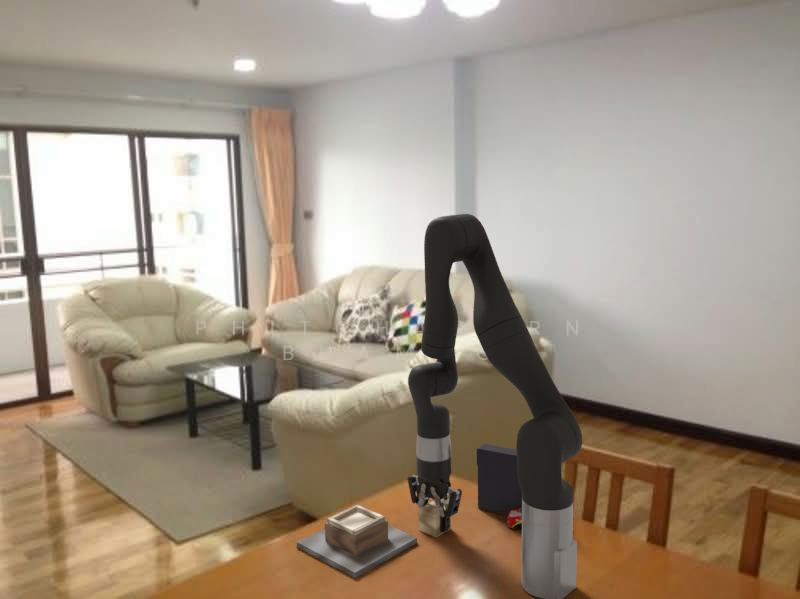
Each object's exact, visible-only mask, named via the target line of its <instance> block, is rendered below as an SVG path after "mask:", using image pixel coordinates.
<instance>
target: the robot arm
mask: <svg viewBox="0 0 800 599" xmlns="http://www.w3.org/2000/svg"><path fill="white" fill-rule="evenodd" d="M423 242H424V244H423V247H424V249H423V253H424V256H423V257H424V259H423V260H424V283H425V285H424V286H425V289H424V291H425V311H424V320H423V328H422V334H421V341H420V342H421V343H420V344H421V345H420V350H421V352H422V353H423V355H425V356H426V357H428V358H430V359H434V360H436V362H432V363H425V364H419V365H415V366H414V367H413V368H412V369H410V371H409V374H408V377H407V384H408V390H409V392H410V395H411V398H412V402H413V405H414V410H415V414H416V428H417V429H416V431H417V432H416V434H417V435H416V441H415V442H416V443H415V444H416V445H415V450H416V454H415V456H416V460H415V462H416V473H415V474H412V475H410V476H408V477H407V484H408V489H409V494H410V499H411V502H412V503H413V504H416V505H417V507H418V509H419V508H421V507H423V506H425V505H427V504H429V503H430V502H431V501H430V500H433V501H434V502H435V504H436V506H437V507H438V508H439V512H440V515H441V516H440V531H441V532H443V534H445V533H446V531H447V530H448V529H449V528H450V517H451V518H452V516H454V515H456V514H457V513H458V512H459V508H460V503H461V499H462V493H463V491H462V489H461V488H458V489H455V487H453V486H452V483H451V480H450V477H451V474H452V441H451V434H450V432H451V430H450V429H451V426H450V423H451V422H450V420H451V419H450V418H451V416H450V410H449V409H448V407H446V406H445V405H442V404H435V403H432V401H431V400H432V398H433V397H438V396H445V395H448V394H451V393H452V392H453V391H455V389H456V387H457V385H458V380H459V375H458V374H459V373H458V368H457V361H456V352H455V351H456V350H455V347H456V342H457V341H456V340H457V334H458V327H459V315H458V310H457V307H456V304H455V301H454V298H453V296H452V294H451V288H450V275H451V271H452V268H453V264H454V263H457V262H462V263H463V265H464V266H465V268H466V270H467V272H468V275H469V277H470V280H471V282H472V286H473V293H474V295H473V297H474V298H473V311H472V312H473V315H472V321H473V329H474V333H475V334H476V337H477V339H478V341H479V343H480V346H481V347H482V349H483V352H484V354H485V356H486V358H487V360H488V361H489V362H490V364H492V366H493V368H495V369H496V370H497V371H498V372H499V373H500V374H501V375H502V376H503V377H504V378H506V380H508V381H509V382H510V384H512V385H513V386H514V387H515V388H516V389H517V390H518V392H520V394H521V395H522V396H523V398H524V400H525V401H526V404H527V406H528V408H529V410H530V412H531V414H532V416H533V417H532V418H531V419H528V420H527V421H525V422H524V423H523V424H522V425H521V426H520V427H519V429H518V433H517V436H516V450H517V472H518V481H519V485H520V487H521V490H522V531H521V579H520V581H521V583H520V584H521V587H522V588H523V590H524V591H525V592H526V593H528V594H530V596H533V597H536V598H539V599H565V597H567V596H568V595H569V594H570V593H572V592H573V591H574V590H575V589H577V565H578V564H577V563H578V562H577V560H578V558H577V556H578V554H577V553H578V541H577V540H576V539H574V538H573V532H574V531H573V530H574V529H573V528H574V519H573V518H574V487H573V486H572V484H571V483H570V482H569V481H567V480H566V479H563V477H562V464H563V463H565V462H567V461H568V460H570V459H572V458H574V457H575V456H577V455H578V454H579V452H580V451H581V449H582V445H583V435H582V430H581V428H580V425H579V423H578V420H577V419H576V418H575V415H574V414H573V412H572V410H571V409H570V407H569V405H568V404H567V402H566V401H565V399H564V397H563V395H562V394H561V392H560V391H559V389H558V388H557V385H556V384H555V382H554V380H553V379H552V377H551V375H550V373H549V370H548V369H547V366H546V365H545V363H544V361H543V359H542V357H541V355H540V353H539V350H538V348H537V347H536V345H535V343H534V341H533V338H532V336H531V334H530V331H529V329H528V326H527V325H526V322H525V320H524V318H523V316H522V314H521V312H520V311H519V308H518V307H517V305H516V303H515V300H514V299H513V297H512V295H511V291H510V290H509V288H508V286H507V283H506V280H505V279H504V277H503V274H502V272H501V270H500V266H499V264H498V261H497V258H496V256H495V253H494V250H493V247H492V245H491V242H490V239H489V236H488V234H487V231H486V229H485V227H484V225H483V224H482V222H481V220H479V219H478V217H476V216H475V215H473V214H470V213H459V214H450V215H444V216H437V217H436V218H433V219H432V220H431V221H430V222H429V223H428V224H427V226H426V230H425V233H424V240H423ZM444 506H445V510H444ZM448 531H449V530H448ZM448 531H447V532H448ZM444 532H445V533H444Z"/></svg>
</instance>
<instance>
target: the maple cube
mask: <svg viewBox="0 0 800 599" xmlns="http://www.w3.org/2000/svg"><path fill="white" fill-rule="evenodd" d="M444 510H445V506H444ZM417 511H418V512H417V513H418V531H420V532H423V533H425V534H427V535H430V536H432V537H433V538H438V537H439V536H442V535H443V534H445V533H446V532H449V531H450V530H451V529H452V528H451V526H452V524H451V522H452V521H451V518H452V516H451V517H450V528H449V529H448V530H447V531H446V532H444V533H443V532H441V531H440V516H441V515H440V512H439V508H438V507H437V506H436V504H435V500H433V501H430V502H429V504H427V505H425V506H423V507H421V508H419V507H418V510H417Z"/></svg>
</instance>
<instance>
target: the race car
mask: <svg viewBox="0 0 800 599" xmlns="http://www.w3.org/2000/svg"><path fill="white" fill-rule="evenodd" d="M506 516H507V517H506V523H507V524H506V525H507V526H508V528H511V529H513V530H517V531H518V532H519V531H521V532H522V508H519V509H514V510H511V511H510V512H509V515H506Z"/></svg>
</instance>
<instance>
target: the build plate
mask: <svg viewBox="0 0 800 599" xmlns="http://www.w3.org/2000/svg"><path fill="white" fill-rule="evenodd" d="M416 544H418V537H416V536H414V535H412V534H410V533H407V532H405V531H402V530H401V529H398V528H397V527H393V526H391V525H389V520H386V516H385V515H382V514H380V513H378V512H375V511H373V510H371V509H368V508H366V507H364V506H362V505H359V504H355V505H353V506H351V507H349V508H347V509H345V510H342V511H340V512H338V513H336V514H334V515H332V516H330V517H327V520H326V521H325V522H324V527H323V529H320V530H318V531H316V532H314V533H312V534H309V535H308V536H305V537H304V538H301V539H299V540H298V541H296V548H297V549H299V550H301V551H304V552H305V553H307V554H309V555H311V556H313V557H314V558H316V559H318V560H320V561H321V562H323V563H325V564H328V565H329V566H332V567H333V568H335V569H337V570H339V571H341V572H342V571H343V572H342V573H345V575H348V576H350V577H352V578H354V579H356V578H358V577H360V576H361V575H364V574H365V573H367V572H369V571H370V570H372V569H373V568H375V567H378V566H379V565H381V564H383V563H384V562H386V561H387V560H390V559H391V558H393V557H395V556H396V555H399V554H400V553H403V551H405V550H408V549H409V548H411V547H412V546H414V545H416Z"/></svg>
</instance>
